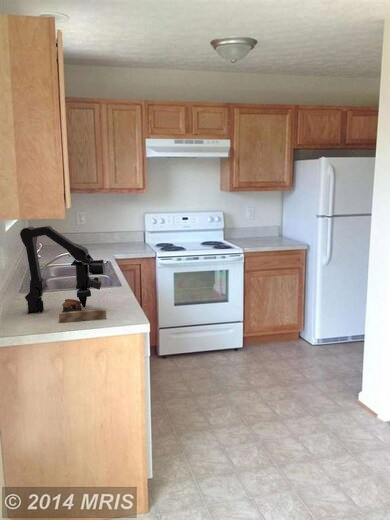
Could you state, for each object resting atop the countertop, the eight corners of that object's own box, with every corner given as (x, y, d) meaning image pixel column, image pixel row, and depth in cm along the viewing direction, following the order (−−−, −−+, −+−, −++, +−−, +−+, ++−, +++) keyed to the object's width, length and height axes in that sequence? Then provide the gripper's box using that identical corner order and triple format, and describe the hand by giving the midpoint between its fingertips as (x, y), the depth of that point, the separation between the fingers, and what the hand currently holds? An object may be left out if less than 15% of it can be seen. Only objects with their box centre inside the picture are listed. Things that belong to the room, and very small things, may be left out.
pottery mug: (55, 316, 214) (59, 298, 217) (73, 321, 221) (76, 304, 223) (69, 314, 206) (73, 296, 209) (87, 319, 212) (91, 302, 215)
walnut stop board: (59, 322, 204) (58, 313, 203) (59, 321, 206) (58, 312, 205) (106, 318, 209) (105, 310, 208) (105, 317, 211) (105, 308, 210)
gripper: (101, 277, 211) (103, 311, 214) (98, 269, 229) (100, 300, 231) (75, 279, 208) (77, 313, 211) (75, 271, 226) (76, 302, 229)
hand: (84, 307), depth 221 cm, fingers closed
